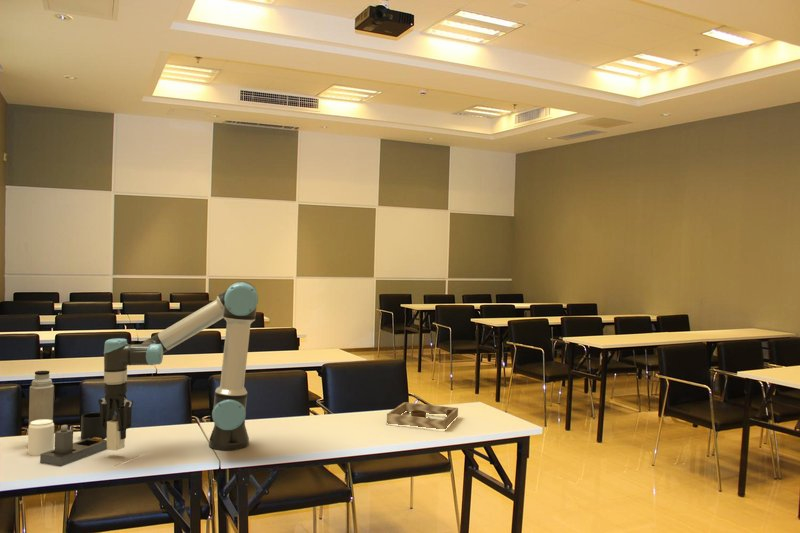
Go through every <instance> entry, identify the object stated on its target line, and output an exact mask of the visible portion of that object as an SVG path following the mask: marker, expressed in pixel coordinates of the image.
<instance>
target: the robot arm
mask: <svg viewBox="0 0 800 533" xmlns="http://www.w3.org/2000/svg"><path fill="white" fill-rule="evenodd" d="M258 302H259V295H258V291H257V290H256V288H255V286H254V285H252V284H251V283H250V282H248V281H237V282H234V283H233V284H231V285H230V286H229V287H228V288H227V289H226V290H224V291H223V292H221V293H219V294H218V295H217V296H216V299H215V300H213V301H211V302H209V303H208V304H206V305H204V306H203V307H201V308H199V309H198V310H196V311H194V312H192V313H191V314H188V315H187V316H185V317H184V318H182V319H181V320H179V321H177V322H175V323H174V324H172V325H171V326H168V327H167V328H165V329H164V330H162V331H160V332H158V333H156V334H154V335H153V336H151V337H149V338H147V339H145V340H144V341H143V342H142V343H141V344H140V343H138V344H135V343H134V344H130V343H128V339H127V338H110V339H107V340H105V342H104V349H103V365H104V366H103V367H104V368H103V369H104V370H103V373H104V374H103V382H104V385H103V393H104V394H105V395H104V397H103V398H100V399H98V405H99V412H100V426H101V427H104V428H105V436H106V438H105V439H107V421H110V420H113V415H115V412H116V415H117V418H118V424H119V430H118V431H117V449H119V450H122V449H124V448H125V446H126V445H125V444H126V442H125V439H126V437H127V430H128V429H130V428H132V412H133V410H132V408H133V405H134V401H133V400H129V399H128V398H127V392H128V382H127V381H128V366H154V365H160V364H162V362H163V357H164V353H166V352H168V351H170V350H171V349H173V348H174V347H176V346H178V345H180V344H181V343H183V342H185V341H186V340H188V339H190V338H191V337H193V336H195V335H197V334H199V333H200V332H202V331H204V330H205V329H208V328H209V327H210V326H212V325H214V324H215V323H217V322H219V321H220V320H222V319H224V320H225V321H226V326H225V327H226V328H225V337H224V346H223V356H222V366H221V373H220V374H221V375H220V385H219V386H218V387H216V388H215V391H214V397H213V398H214V400H213V407H212V408H213V409H212V411H211V417H212V418H211V419H212V420H213V424H214V425H213V428H212V432H211V433H210V436H209V440H208V446H209V448H211V449H213V450H219V451H235V450H240V449H244V448H247V447H248V446H249V444H250V438H249V434H248V430H247V428H246V416H247V411H246V409H247V401H248V400H247V399H248V391H247V389H246V387H245V378H246V369H247V360H248V354H249V344H250V343H249V342H250V332H251V331H250V330H251V325H252V323H253V322H255V321H256V315H257V314H256V313H257V306H258ZM123 447H124V448H123ZM121 448H122V449H121Z"/></svg>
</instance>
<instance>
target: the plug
mask: <svg viewBox="0 0 800 533" xmlns="http://www.w3.org/2000/svg"><path fill="white" fill-rule="evenodd" d="M118 430H119V424H118V418H117V414H114V415H113V420H110V421H107V438H106V440H107V449H106V451H107V450H108V451H115V452H116V451H119V450H122V449H124V448H125V447H123V448H121V449H117V431H118Z"/></svg>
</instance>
